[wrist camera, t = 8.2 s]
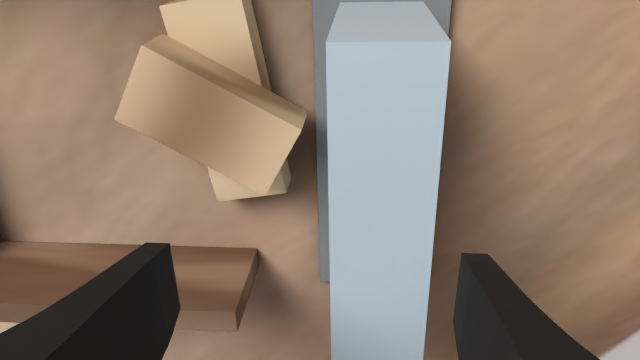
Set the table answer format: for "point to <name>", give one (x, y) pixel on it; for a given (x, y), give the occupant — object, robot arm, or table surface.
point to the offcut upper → (209, 113)
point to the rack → (92, 259)
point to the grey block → (323, 17)
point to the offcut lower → (225, 62)
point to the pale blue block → (383, 174)
